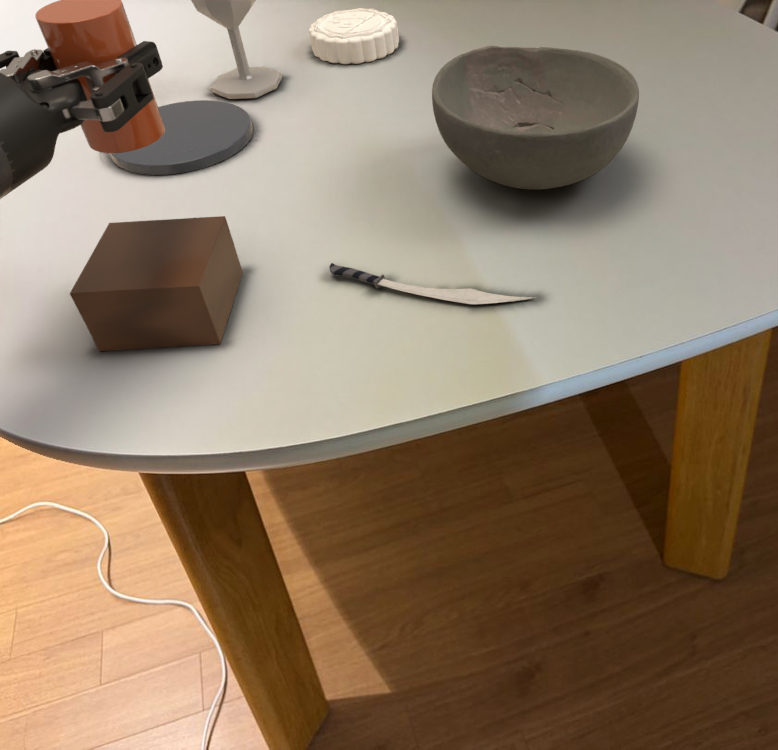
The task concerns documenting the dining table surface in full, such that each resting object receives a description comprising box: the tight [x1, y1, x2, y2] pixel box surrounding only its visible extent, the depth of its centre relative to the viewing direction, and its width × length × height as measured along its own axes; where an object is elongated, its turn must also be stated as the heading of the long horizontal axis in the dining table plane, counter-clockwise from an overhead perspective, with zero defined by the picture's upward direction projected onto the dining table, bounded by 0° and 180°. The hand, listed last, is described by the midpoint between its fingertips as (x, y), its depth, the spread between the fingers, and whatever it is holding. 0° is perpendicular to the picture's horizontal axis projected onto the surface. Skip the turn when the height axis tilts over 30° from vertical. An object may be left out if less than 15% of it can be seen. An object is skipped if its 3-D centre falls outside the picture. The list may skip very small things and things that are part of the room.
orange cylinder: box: [34, 0, 165, 154], centre depth 62 cm, size 6×6×10 cm
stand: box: [69, 215, 244, 352], centre depth 67 cm, size 10×10×6 cm
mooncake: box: [308, 7, 400, 65], centre depth 110 cm, size 12×12×4 cm
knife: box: [329, 262, 537, 305], centre depth 70 cm, size 19×2×1 cm, turn 74°
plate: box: [109, 99, 254, 176], centre depth 92 cm, size 16×16×1 cm
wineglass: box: [190, 0, 283, 100], centre depth 96 cm, size 9×9×21 cm
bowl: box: [431, 45, 640, 190], centre depth 81 cm, size 20×20×10 cm
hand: (118, 50), depth 63 cm, fingers closed on orange cylinder, 6 cm apart
